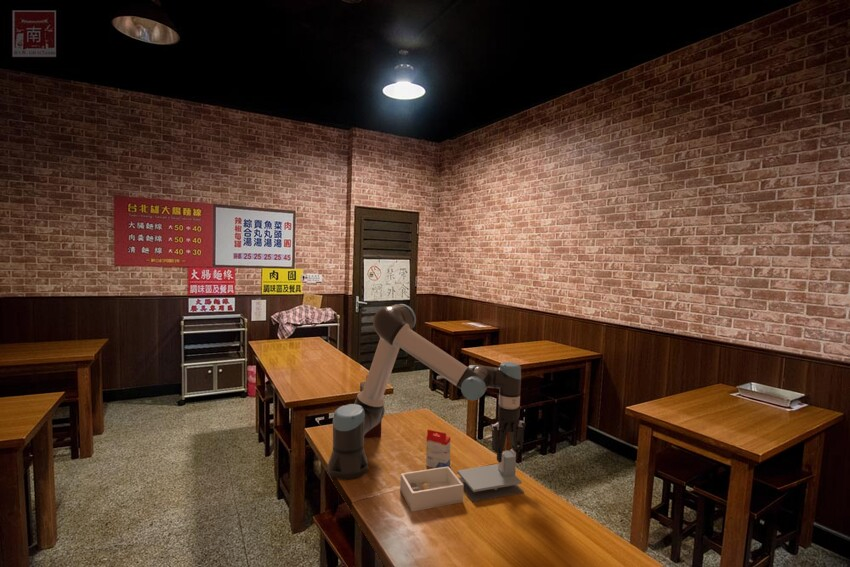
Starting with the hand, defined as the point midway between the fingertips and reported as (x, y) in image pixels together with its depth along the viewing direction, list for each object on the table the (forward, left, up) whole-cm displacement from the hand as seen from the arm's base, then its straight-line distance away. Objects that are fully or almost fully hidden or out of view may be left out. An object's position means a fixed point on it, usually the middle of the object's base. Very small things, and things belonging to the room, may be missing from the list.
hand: (506, 469), depth 152 cm
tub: (-29, 0, -5) cm, 30 cm away
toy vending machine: (-38, +57, -5) cm, 69 cm away
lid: (-7, 0, -4) cm, 8 cm away
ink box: (-19, +19, -5) cm, 28 cm away
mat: (-7, 0, -5) cm, 9 cm away
